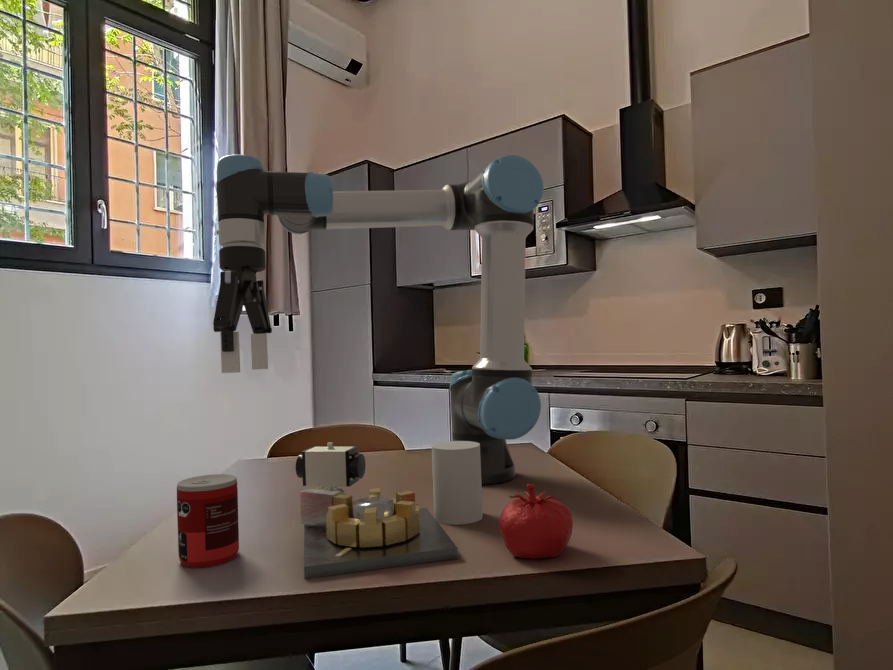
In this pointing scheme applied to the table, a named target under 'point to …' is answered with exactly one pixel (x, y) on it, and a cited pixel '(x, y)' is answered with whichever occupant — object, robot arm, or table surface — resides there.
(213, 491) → the canned food
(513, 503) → the red tomato
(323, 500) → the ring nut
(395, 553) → the base plate
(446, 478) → the white cylinder
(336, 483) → the pneumatic valve
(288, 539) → the table surface
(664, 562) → the table surface
